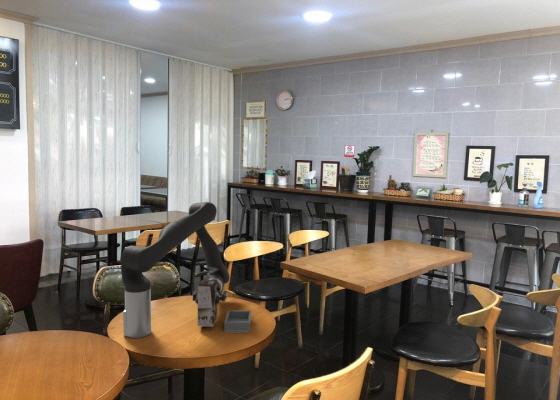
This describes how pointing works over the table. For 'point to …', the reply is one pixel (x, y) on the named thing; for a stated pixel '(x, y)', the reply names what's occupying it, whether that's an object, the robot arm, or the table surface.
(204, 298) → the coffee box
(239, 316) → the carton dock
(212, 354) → the table surface
